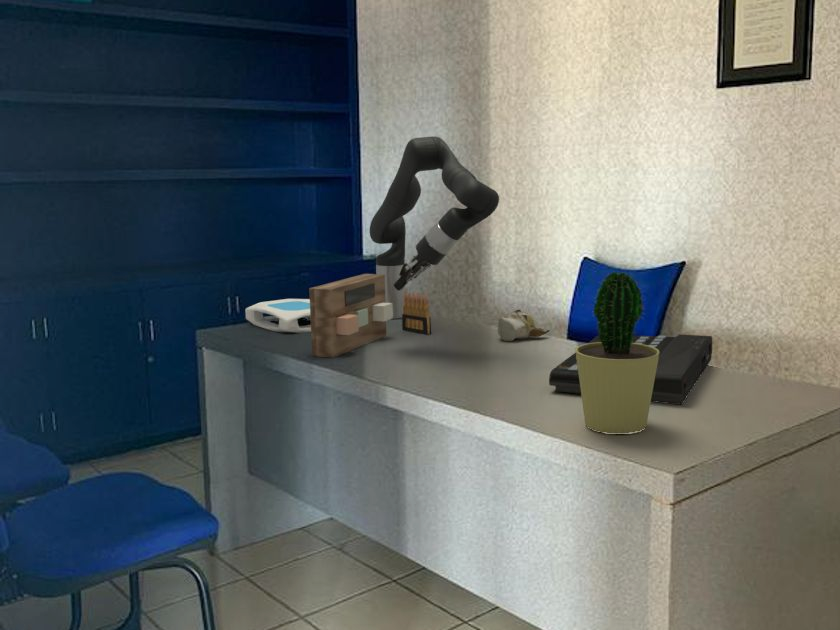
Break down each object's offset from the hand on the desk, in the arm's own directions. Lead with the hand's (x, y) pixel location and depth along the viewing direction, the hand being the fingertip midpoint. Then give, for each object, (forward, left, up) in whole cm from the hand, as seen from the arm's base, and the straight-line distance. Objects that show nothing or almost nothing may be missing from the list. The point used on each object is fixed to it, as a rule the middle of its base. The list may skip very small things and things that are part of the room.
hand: (396, 287), depth 230 cm
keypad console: (+7, -12, -17) cm, 22 cm away
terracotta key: (+14, -5, -11) cm, 18 cm away
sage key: (+7, -12, -11) cm, 17 cm away
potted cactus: (+5, +83, -17) cm, 84 cm away
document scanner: (+5, -52, -17) cm, 55 cm away
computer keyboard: (-28, +59, -18) cm, 67 cm away
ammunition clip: (-17, -16, -17) cm, 29 cm away
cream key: (-3, -15, -11) cm, 19 cm away
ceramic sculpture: (-34, +10, -17) cm, 40 cm away
